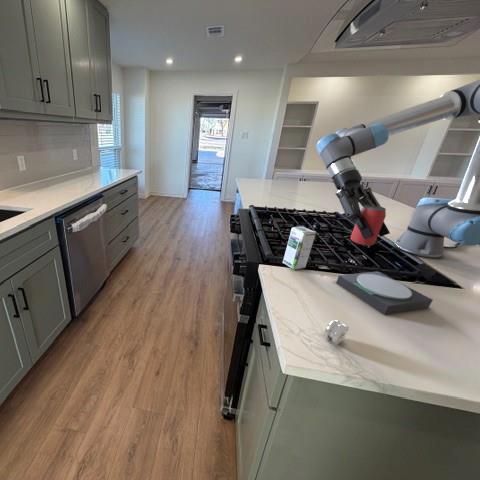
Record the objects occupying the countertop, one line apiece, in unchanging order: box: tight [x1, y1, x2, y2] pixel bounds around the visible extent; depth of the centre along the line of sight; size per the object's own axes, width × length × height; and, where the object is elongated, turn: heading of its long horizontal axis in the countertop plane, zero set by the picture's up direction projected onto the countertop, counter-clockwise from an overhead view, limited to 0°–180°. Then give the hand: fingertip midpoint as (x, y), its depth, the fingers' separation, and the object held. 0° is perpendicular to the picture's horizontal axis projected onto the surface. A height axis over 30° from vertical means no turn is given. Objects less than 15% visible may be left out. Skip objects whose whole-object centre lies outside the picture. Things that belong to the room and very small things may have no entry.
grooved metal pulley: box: [323, 319, 350, 345], centre depth 60 cm, size 5×3×5 cm, turn 122°
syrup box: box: [282, 226, 317, 271], centre depth 92 cm, size 6×6×14 cm
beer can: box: [350, 205, 387, 246], centre depth 82 cm, size 7×7×12 cm
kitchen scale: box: [336, 271, 434, 316], centre depth 78 cm, size 16×16×4 cm
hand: (377, 236), depth 80 cm, fingers closed on beer can, 6 cm apart
